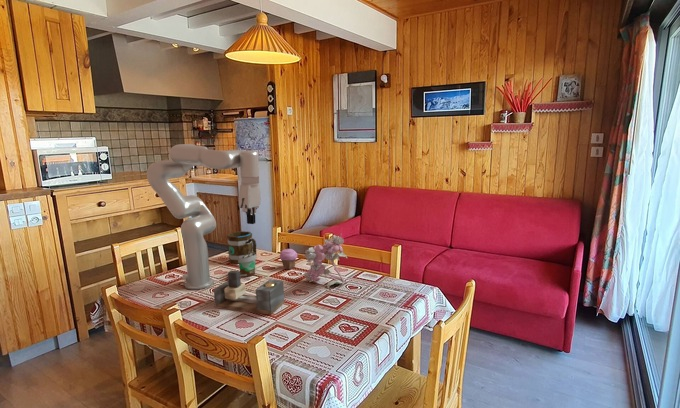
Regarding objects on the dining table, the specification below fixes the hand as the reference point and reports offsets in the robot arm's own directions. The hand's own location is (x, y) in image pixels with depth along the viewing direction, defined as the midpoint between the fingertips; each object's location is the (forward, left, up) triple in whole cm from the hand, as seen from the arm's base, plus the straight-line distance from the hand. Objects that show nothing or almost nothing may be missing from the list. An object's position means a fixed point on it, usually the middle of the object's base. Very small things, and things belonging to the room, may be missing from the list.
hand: (251, 223), depth 164 cm
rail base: (+6, -14, -30) cm, 34 cm away
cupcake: (+1, +31, -30) cm, 43 cm away
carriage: (-1, -14, -27) cm, 30 cm away
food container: (-13, +17, -30) cm, 37 cm away
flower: (+25, +15, -30) cm, 42 cm away
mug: (-27, +34, -30) cm, 53 cm away
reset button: (+15, -14, -26) cm, 33 cm away
